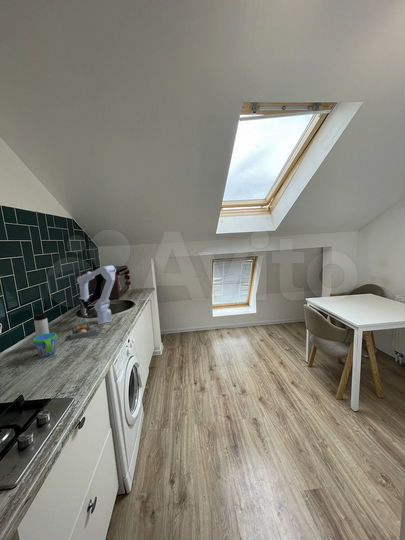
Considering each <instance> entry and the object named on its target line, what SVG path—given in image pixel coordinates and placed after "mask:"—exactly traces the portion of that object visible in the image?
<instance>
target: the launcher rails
mask: <svg viewBox="0 0 405 540" xmlns="http://www.w3.org/2000/svg"><path fill="white" fill-rule="evenodd" d="M86 324H87V328H88V331H91V330H92V329H91V325H90V322H87V323H86ZM72 326H73V334H77V331H76V330H77V328H76V325H72Z"/></svg>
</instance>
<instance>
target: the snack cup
mask: <svg viewBox="0 0 405 540" xmlns="http://www.w3.org/2000/svg"><path fill="white" fill-rule="evenodd" d="M57 337H58V335H57V333H55V332H49V333H47V334H43V335H40V336H37V337H36V336H35V337H34V338H33V339H32V342H33V344H34V346H35V349H36V352H37V355H38V356H39V357H40V358H45V357H50V356H52V355H54V354H55V353H56V347H57V344H56V343H57Z"/></svg>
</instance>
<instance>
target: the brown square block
mask: <svg viewBox="0 0 405 540" xmlns="http://www.w3.org/2000/svg"><path fill="white" fill-rule="evenodd" d="M83 329H85V330H86V331H89V328H88V325H87V323H86V324H81V325H77V326H76V330H77V331H76V332H77V333H80V331H81V330H83Z"/></svg>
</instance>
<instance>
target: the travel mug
mask: <svg viewBox="0 0 405 540" xmlns="http://www.w3.org/2000/svg"><path fill="white" fill-rule="evenodd" d="M33 322H34V328H35V337H37V336H40V335H43V334H47V333H50V330H49V322H48V315H47V312H41V313H37V314H35V315H33Z"/></svg>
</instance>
